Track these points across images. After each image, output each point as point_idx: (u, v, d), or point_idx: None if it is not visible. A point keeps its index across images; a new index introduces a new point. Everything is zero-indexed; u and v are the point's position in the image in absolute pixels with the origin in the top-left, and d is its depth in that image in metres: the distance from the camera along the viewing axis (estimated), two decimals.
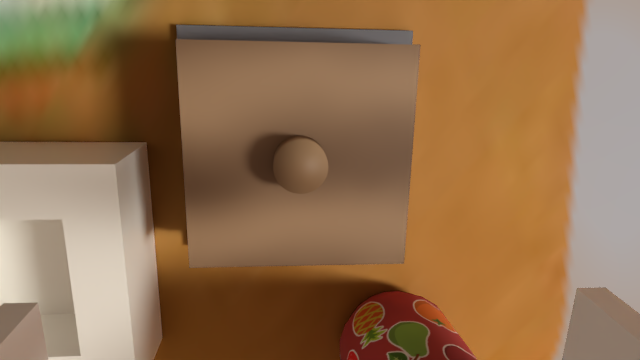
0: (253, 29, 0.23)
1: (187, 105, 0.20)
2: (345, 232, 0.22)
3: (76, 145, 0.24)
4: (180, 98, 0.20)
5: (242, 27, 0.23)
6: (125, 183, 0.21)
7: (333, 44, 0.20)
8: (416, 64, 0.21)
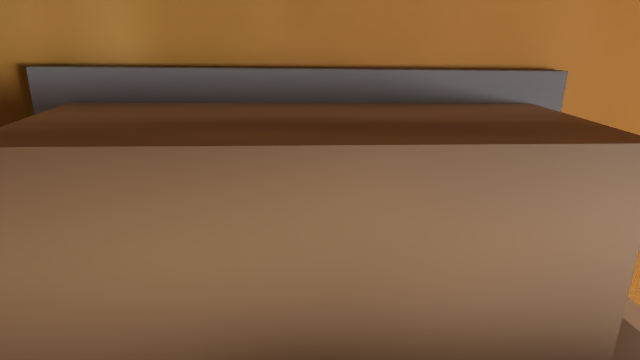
0: (210, 75, 0.10)
1: (7, 321, 0.07)
2: None
3: None
4: None
5: (183, 70, 0.10)
6: None
7: (423, 150, 0.07)
8: None
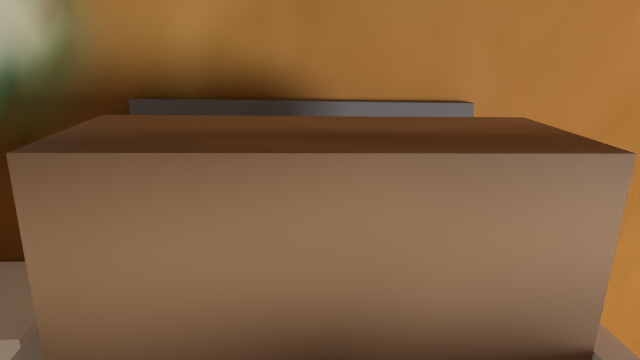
0: (242, 105, 0.16)
1: (53, 306, 0.08)
2: None
3: None
4: (34, 291, 0.08)
5: (226, 102, 0.16)
6: None
7: (419, 157, 0.08)
8: (619, 200, 0.08)
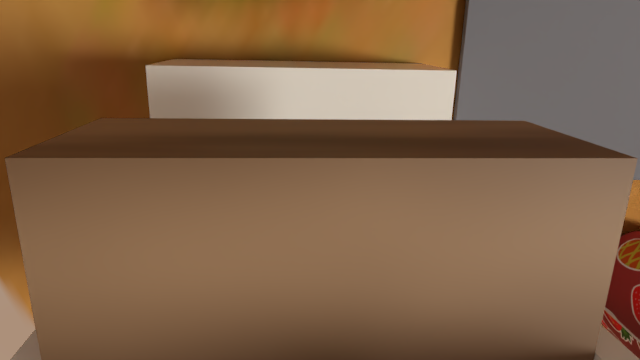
0: None
1: (52, 311, 0.08)
2: None
3: (359, 63, 0.22)
4: (33, 296, 0.08)
5: None
6: None
7: (420, 162, 0.08)
8: (620, 204, 0.08)
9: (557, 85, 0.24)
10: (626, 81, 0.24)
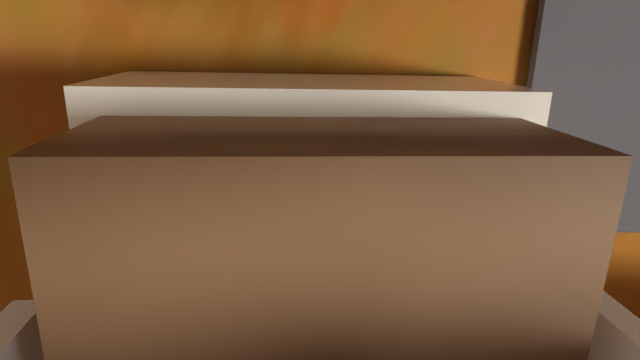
0: None
1: (55, 309, 0.08)
2: None
3: (392, 77, 0.15)
4: (36, 294, 0.08)
5: None
6: None
7: (421, 160, 0.08)
8: (616, 201, 0.08)
9: None
10: None
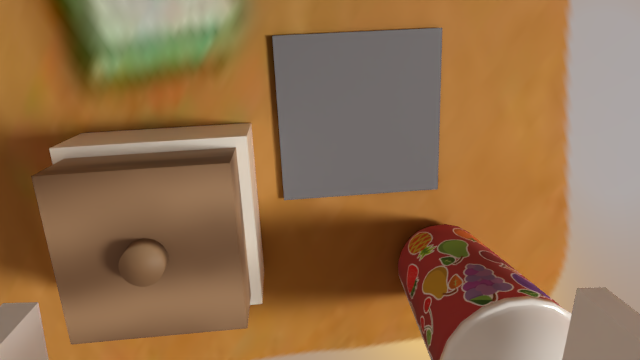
0: (327, 35, 0.32)
1: (49, 223, 0.26)
2: (194, 308, 0.28)
3: (204, 127, 0.33)
4: (42, 219, 0.25)
5: (319, 34, 0.32)
6: (249, 150, 0.31)
7: (158, 169, 0.25)
8: (228, 178, 0.26)
9: (348, 130, 0.34)
10: (397, 124, 0.35)
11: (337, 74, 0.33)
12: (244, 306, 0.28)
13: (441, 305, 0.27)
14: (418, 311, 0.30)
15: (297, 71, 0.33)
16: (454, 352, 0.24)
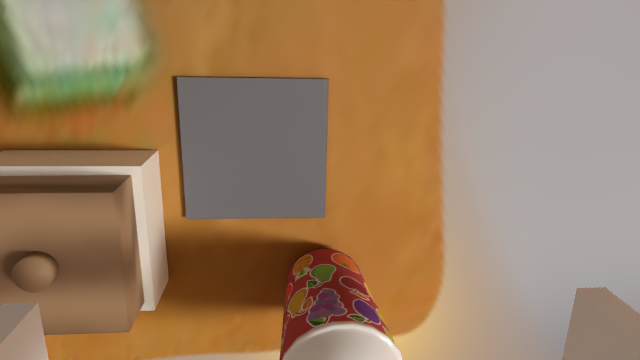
0: (225, 79, 0.37)
1: None
2: (82, 312, 0.32)
3: (113, 152, 0.37)
4: None
5: (218, 78, 0.37)
6: (146, 177, 0.35)
7: (50, 194, 0.30)
8: (111, 205, 0.30)
9: (244, 162, 0.39)
10: (288, 159, 0.39)
11: (235, 113, 0.38)
12: (126, 313, 0.33)
13: (292, 323, 0.32)
14: None
15: (199, 109, 0.37)
16: None
